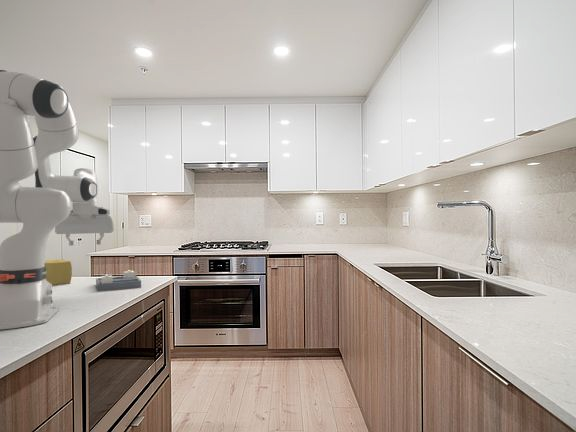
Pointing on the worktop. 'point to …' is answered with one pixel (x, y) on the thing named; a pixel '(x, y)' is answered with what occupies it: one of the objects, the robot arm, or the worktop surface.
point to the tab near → (106, 279)
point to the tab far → (129, 274)
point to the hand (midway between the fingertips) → (85, 244)
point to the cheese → (58, 271)
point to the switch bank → (119, 283)
